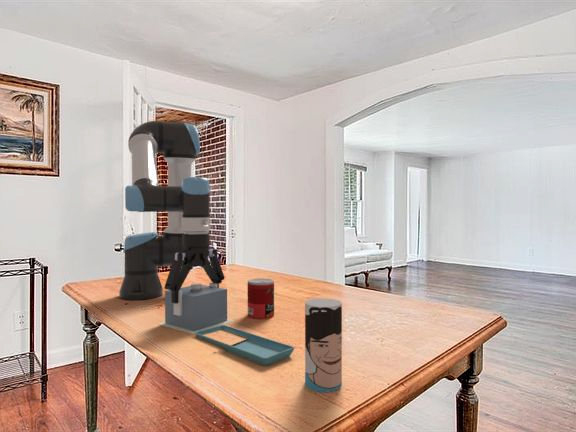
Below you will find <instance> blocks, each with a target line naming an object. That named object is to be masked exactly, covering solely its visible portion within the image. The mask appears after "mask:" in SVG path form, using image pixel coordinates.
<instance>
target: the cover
mask: <svg viewBox="0 0 576 432" xmlns="http://www.w3.org/2000/svg"><path fill="white" fill-rule="evenodd" d="M179 291H182V316H178V315H174V303H172V301H171V298H172V297H171V290H168V289H166V290H164V322H165V323H166V324H169V325H173V326H176V327H180V328H184V329H187V330H191V331H197V330H200V329H203V328H206V327H209V326H212V325H215V324H219V323H222V322H225V321H227V319H228V289H227V288H223V287H219V288H218V287H212V286H209V285H206V284H203V283H192V284H190V285H188V286H183V287H182V286H181V288H180V290H179Z"/></svg>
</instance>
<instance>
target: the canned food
mask: <svg viewBox="0 0 576 432" xmlns="http://www.w3.org/2000/svg"><path fill="white" fill-rule="evenodd" d="M274 316H275V281H274V279H270V278H263V277H262V278H261V277H260V278H251V279H248V280H247V317H248V318H251V319H255V320H263V319H270V318H273V317H274Z"/></svg>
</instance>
